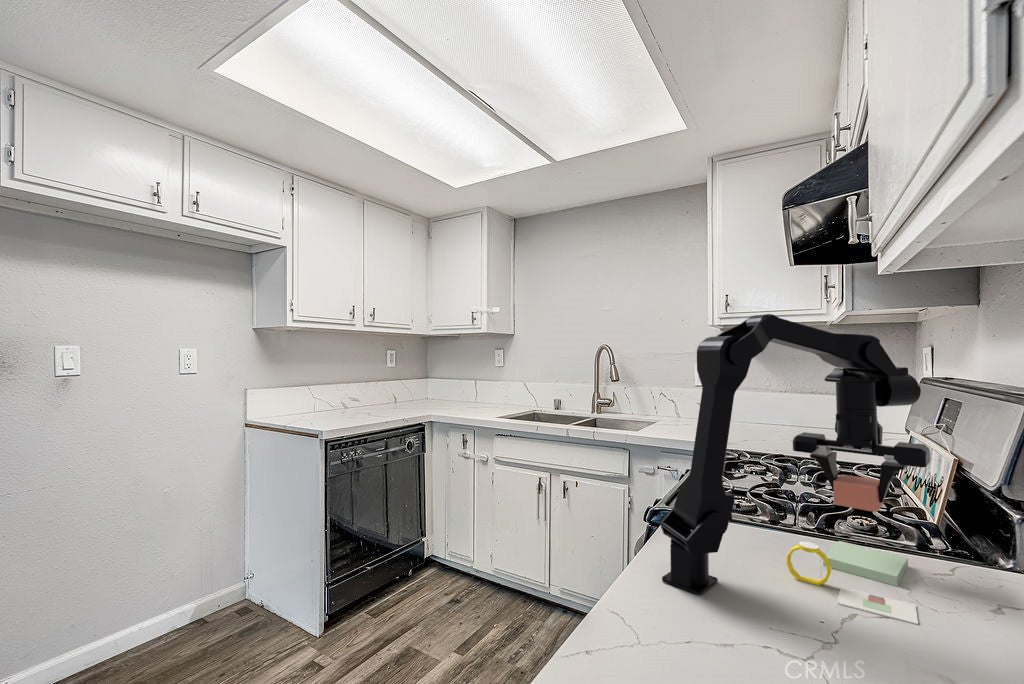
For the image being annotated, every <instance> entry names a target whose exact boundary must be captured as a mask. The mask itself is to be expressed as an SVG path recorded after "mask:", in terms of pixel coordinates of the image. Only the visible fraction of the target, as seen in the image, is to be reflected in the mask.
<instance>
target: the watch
mask: <svg viewBox="0 0 1024 684" xmlns="http://www.w3.org/2000/svg"><path fill="white" fill-rule="evenodd" d="M797 550H798V551H799V550H801V551H803V552H807V553H812V554H816V555H818V556H819V557H820V558H821V559H822V561H824V562H825V564H826V566H825V567H826V572H827V573H826V575H825V576H824V577H823V578H821V579H819V580H818V579H814V578H810V577H807V576H803V575H801V574H800V573H798V572H797V571H796V569H794V566H793V563H792V561H791V560H792V555H793V553H794V552H795V551H797ZM825 554H826V553H825V552H824V551H822V550H821V549H820V546H819V545H817V544H816V543H813V542H810V541H799V543H798V544H797V545H794V546H793V547H792V548H791V549H790V550H789V551H788V553H787V555H786V566H787V568H788V571H789V572H790V574H791V575H792V576H793V577H794V578H795V579H796V580H797V581H800V582H804V583H808V584H811V585H815V586H818V587H819V586H821V585H824V584H825V583H826V582H828V580H829V579H830V576H831V573H832V568H831V563H830V561H829V560H828V558H827V556H826V555H825Z"/></svg>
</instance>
